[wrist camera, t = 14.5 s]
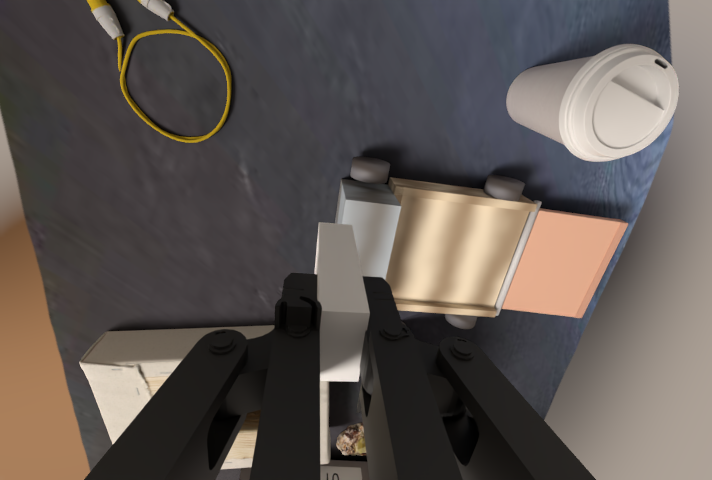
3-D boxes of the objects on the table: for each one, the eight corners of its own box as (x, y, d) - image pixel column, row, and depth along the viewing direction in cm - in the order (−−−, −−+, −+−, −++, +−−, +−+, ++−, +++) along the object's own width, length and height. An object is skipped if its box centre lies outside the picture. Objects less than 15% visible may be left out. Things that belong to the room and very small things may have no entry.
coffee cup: (586, 96, 44) (707, 108, 30) (521, 154, 46) (607, 189, 32) (545, 31, 40) (661, 11, 27) (477, 96, 43) (552, 109, 29)
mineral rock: (336, 466, 65) (337, 449, 60) (334, 440, 68) (335, 422, 63) (395, 459, 67) (400, 442, 61) (390, 434, 70) (395, 416, 65)
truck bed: (323, 300, 52) (324, 337, 45) (344, 153, 44) (350, 170, 37) (479, 312, 56) (502, 348, 49) (526, 179, 47) (564, 198, 40)
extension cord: (214, -26, 36) (209, -31, 34) (242, 138, 42) (239, 141, 41) (85, -22, 35) (72, -28, 33) (134, 144, 42) (126, 148, 40)
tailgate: (493, 315, 52) (579, 324, 53) (536, 201, 45) (633, 216, 46) (489, 308, 54) (572, 317, 55) (529, 197, 47) (623, 211, 48)
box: (330, 316, 55) (103, 327, 51) (333, 353, 48) (70, 369, 44) (332, 422, 65) (142, 437, 61) (334, 465, 58) (120, 485, 55)
